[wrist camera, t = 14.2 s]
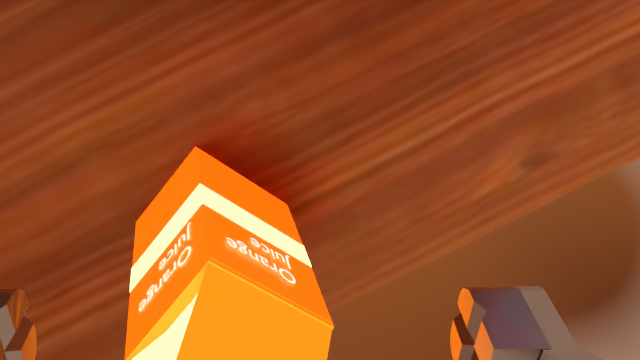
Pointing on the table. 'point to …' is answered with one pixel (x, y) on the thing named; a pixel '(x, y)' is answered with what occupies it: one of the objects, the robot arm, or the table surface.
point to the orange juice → (222, 274)
